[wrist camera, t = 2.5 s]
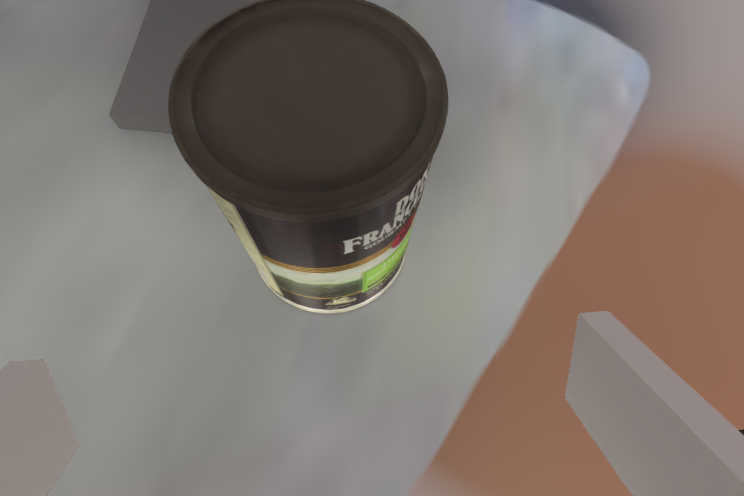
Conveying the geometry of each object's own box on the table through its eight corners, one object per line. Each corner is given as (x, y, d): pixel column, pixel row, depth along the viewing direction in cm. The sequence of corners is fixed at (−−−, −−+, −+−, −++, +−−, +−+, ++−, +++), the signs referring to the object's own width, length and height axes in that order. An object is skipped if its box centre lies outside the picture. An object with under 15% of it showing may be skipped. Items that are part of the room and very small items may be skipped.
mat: (119, 128, 32) (109, 114, 31) (168, -11, 37) (161, -28, 36) (341, 148, 32) (340, 135, 31) (359, 6, 37) (359, -10, 36)
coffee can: (437, 221, 30) (499, 66, 17) (346, 347, 27) (338, 274, 14) (316, 145, 32) (289, -47, 19) (218, 253, 29) (103, 111, 16)
